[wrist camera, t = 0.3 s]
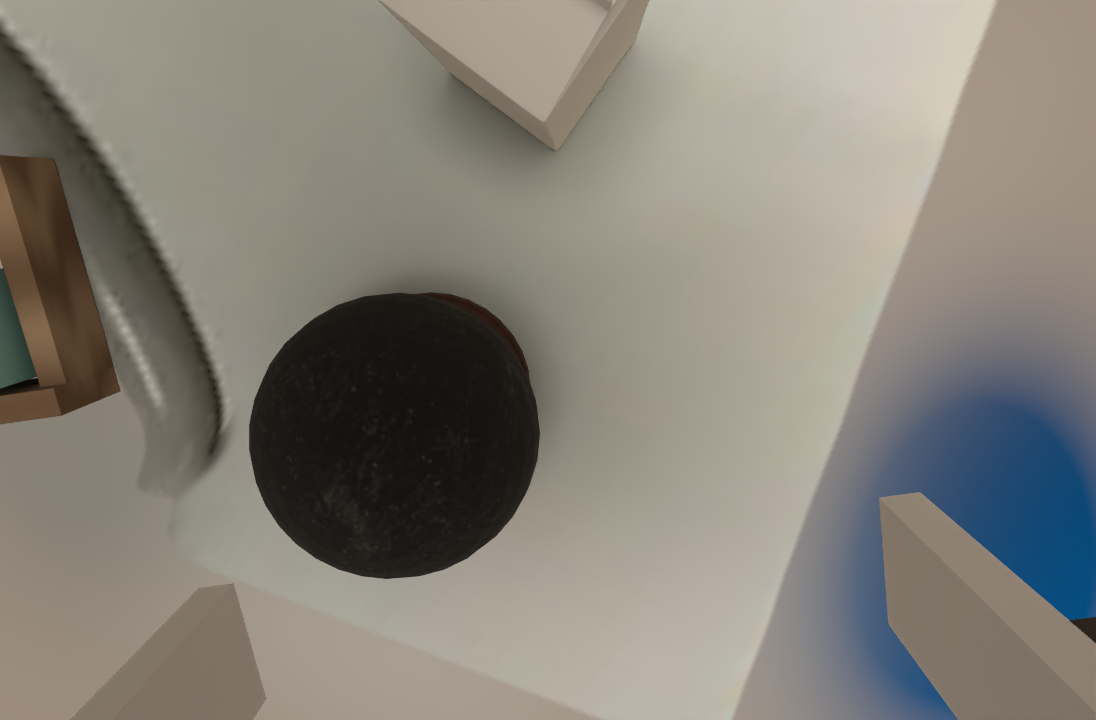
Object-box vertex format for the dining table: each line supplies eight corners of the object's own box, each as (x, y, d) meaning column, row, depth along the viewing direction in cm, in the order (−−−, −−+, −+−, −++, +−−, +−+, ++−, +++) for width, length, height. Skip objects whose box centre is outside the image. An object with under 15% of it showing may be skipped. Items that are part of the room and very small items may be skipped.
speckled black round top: (441, 535, 44) (373, 700, 29) (278, 387, 43) (120, 484, 28) (594, 388, 42) (602, 489, 27) (428, 226, 40) (341, 239, 25)
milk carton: (556, 153, 39) (536, 108, 20) (448, 72, 38) (326, -50, 20) (636, 38, 38) (692, -122, 19) (526, -48, 37) (472, -300, 18)
